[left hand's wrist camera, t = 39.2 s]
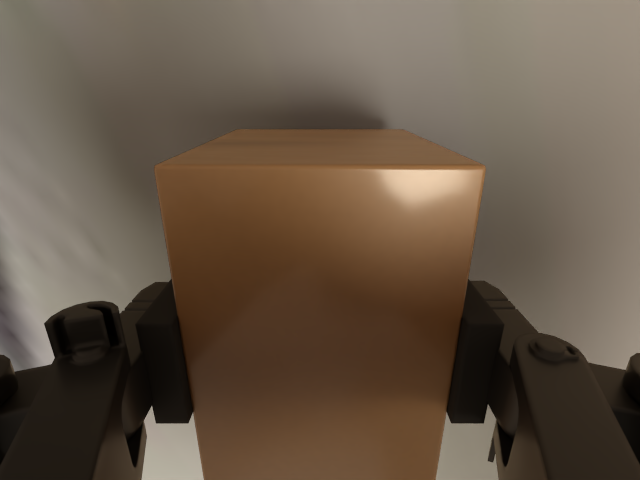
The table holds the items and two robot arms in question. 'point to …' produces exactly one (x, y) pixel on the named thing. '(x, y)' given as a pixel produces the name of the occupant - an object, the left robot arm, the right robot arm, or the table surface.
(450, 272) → the brick
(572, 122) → the table surface
